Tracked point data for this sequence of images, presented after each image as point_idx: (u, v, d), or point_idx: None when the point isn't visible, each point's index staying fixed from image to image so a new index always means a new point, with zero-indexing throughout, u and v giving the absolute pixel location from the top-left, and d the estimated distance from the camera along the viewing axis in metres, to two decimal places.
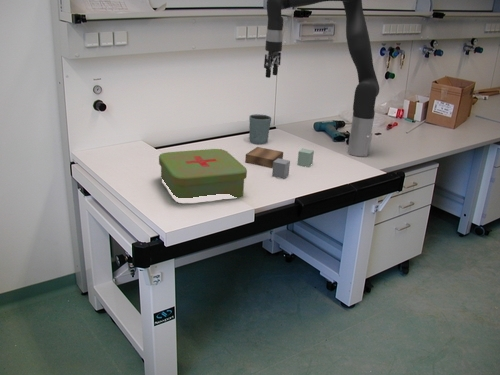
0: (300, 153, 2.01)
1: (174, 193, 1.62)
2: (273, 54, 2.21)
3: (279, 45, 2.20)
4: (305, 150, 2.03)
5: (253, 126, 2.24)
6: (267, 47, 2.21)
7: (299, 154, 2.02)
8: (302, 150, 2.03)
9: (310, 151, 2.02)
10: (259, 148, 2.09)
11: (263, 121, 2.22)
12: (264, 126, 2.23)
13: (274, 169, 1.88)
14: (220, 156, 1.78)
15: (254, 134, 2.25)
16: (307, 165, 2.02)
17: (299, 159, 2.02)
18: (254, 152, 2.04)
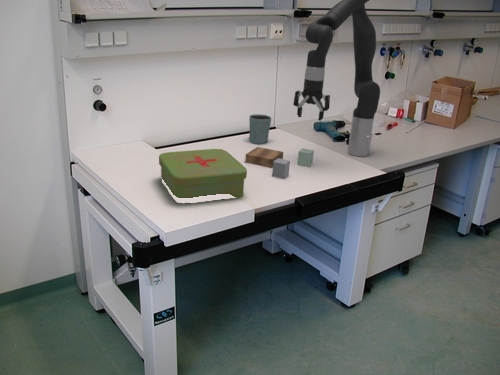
0: (300, 153, 2.01)
1: (174, 193, 1.62)
2: None
3: None
4: (305, 150, 2.03)
5: (253, 126, 2.24)
6: (320, 87, 1.90)
7: (299, 154, 2.02)
8: (302, 150, 2.03)
9: (310, 151, 2.02)
10: (259, 149, 2.09)
11: (263, 121, 2.22)
12: (264, 126, 2.23)
13: (274, 169, 1.88)
14: (220, 156, 1.78)
15: (254, 134, 2.25)
16: (307, 165, 2.02)
17: (299, 159, 2.02)
18: (254, 152, 2.04)
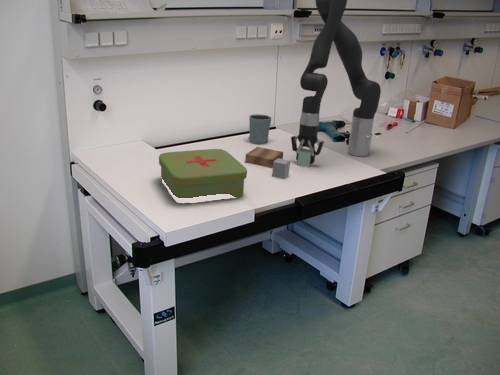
0: (300, 153, 2.01)
1: (174, 193, 1.62)
2: None
3: None
4: (305, 150, 2.03)
5: (253, 126, 2.24)
6: (315, 132, 1.97)
7: (299, 154, 2.02)
8: (302, 150, 2.03)
9: (310, 151, 2.02)
10: (259, 148, 2.09)
11: (263, 121, 2.22)
12: (264, 126, 2.23)
13: (274, 169, 1.88)
14: (220, 156, 1.78)
15: (254, 134, 2.25)
16: (307, 165, 2.02)
17: (299, 159, 2.02)
18: (254, 152, 2.04)
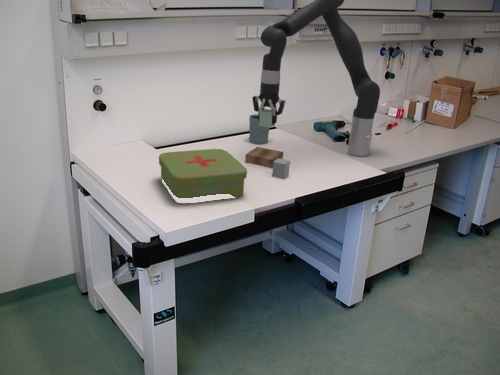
0: (261, 113, 1.96)
1: (174, 193, 1.62)
2: None
3: None
4: (267, 110, 1.98)
5: (253, 126, 2.24)
6: (275, 91, 1.91)
7: (260, 114, 1.96)
8: (263, 110, 1.98)
9: None
10: (259, 148, 2.09)
11: None
12: None
13: (274, 169, 1.88)
14: (220, 156, 1.78)
15: (254, 134, 2.25)
16: (269, 125, 1.97)
17: (260, 119, 1.97)
18: (254, 152, 2.04)
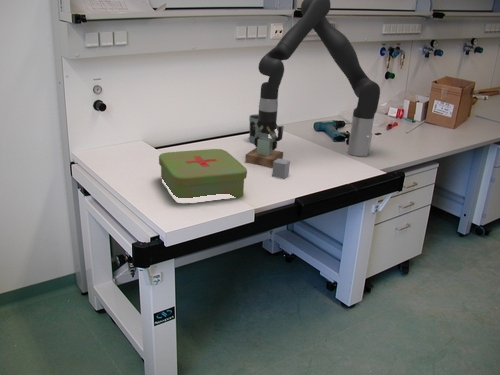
0: (259, 141, 2.01)
1: (174, 193, 1.62)
2: None
3: None
4: (264, 138, 2.02)
5: None
6: (273, 118, 1.96)
7: (258, 142, 2.01)
8: (261, 138, 2.02)
9: (269, 139, 2.02)
10: None
11: None
12: None
13: (274, 169, 1.88)
14: (220, 156, 1.78)
15: None
16: (266, 153, 2.01)
17: (258, 147, 2.02)
18: (254, 152, 2.04)
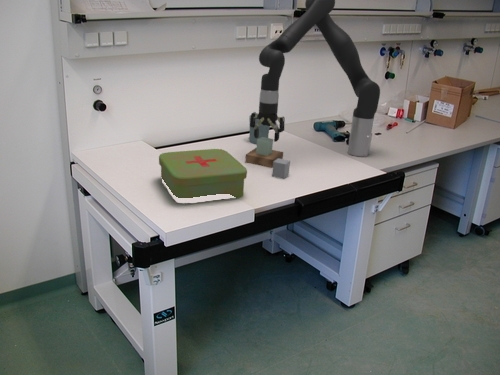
0: (258, 141, 2.01)
1: (174, 193, 1.62)
2: None
3: None
4: (264, 139, 2.02)
5: None
6: (274, 110, 1.94)
7: (257, 142, 2.01)
8: (261, 138, 2.02)
9: (269, 139, 2.01)
10: None
11: None
12: (264, 126, 2.23)
13: (274, 169, 1.88)
14: (220, 157, 1.78)
15: None
16: (265, 153, 2.01)
17: (258, 147, 2.02)
18: (254, 152, 2.05)
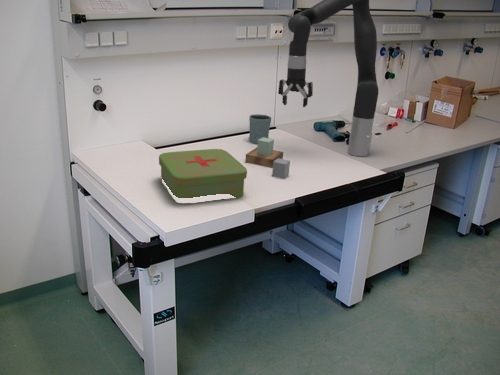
0: (259, 142, 2.00)
1: (174, 193, 1.62)
2: None
3: None
4: (265, 139, 2.02)
5: (253, 126, 2.24)
6: (302, 75, 2.00)
7: (258, 143, 2.01)
8: (261, 139, 2.02)
9: (270, 140, 2.01)
10: None
11: (263, 121, 2.22)
12: (264, 126, 2.23)
13: (274, 169, 1.88)
14: (220, 157, 1.78)
15: (254, 134, 2.25)
16: (266, 154, 2.01)
17: (258, 148, 2.02)
18: (254, 152, 2.05)
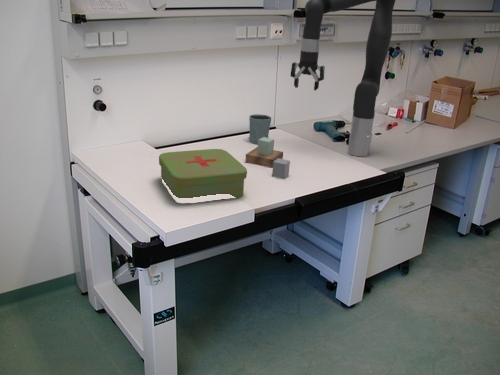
0: (259, 141, 2.01)
1: (174, 193, 1.62)
2: None
3: None
4: (265, 139, 2.02)
5: (253, 126, 2.24)
6: (315, 58, 2.03)
7: (259, 142, 2.01)
8: (262, 138, 2.02)
9: (270, 140, 2.01)
10: None
11: (263, 121, 2.22)
12: (264, 126, 2.23)
13: (274, 169, 1.88)
14: (220, 156, 1.78)
15: (254, 134, 2.25)
16: (266, 154, 2.01)
17: (259, 147, 2.02)
18: (254, 152, 2.05)
